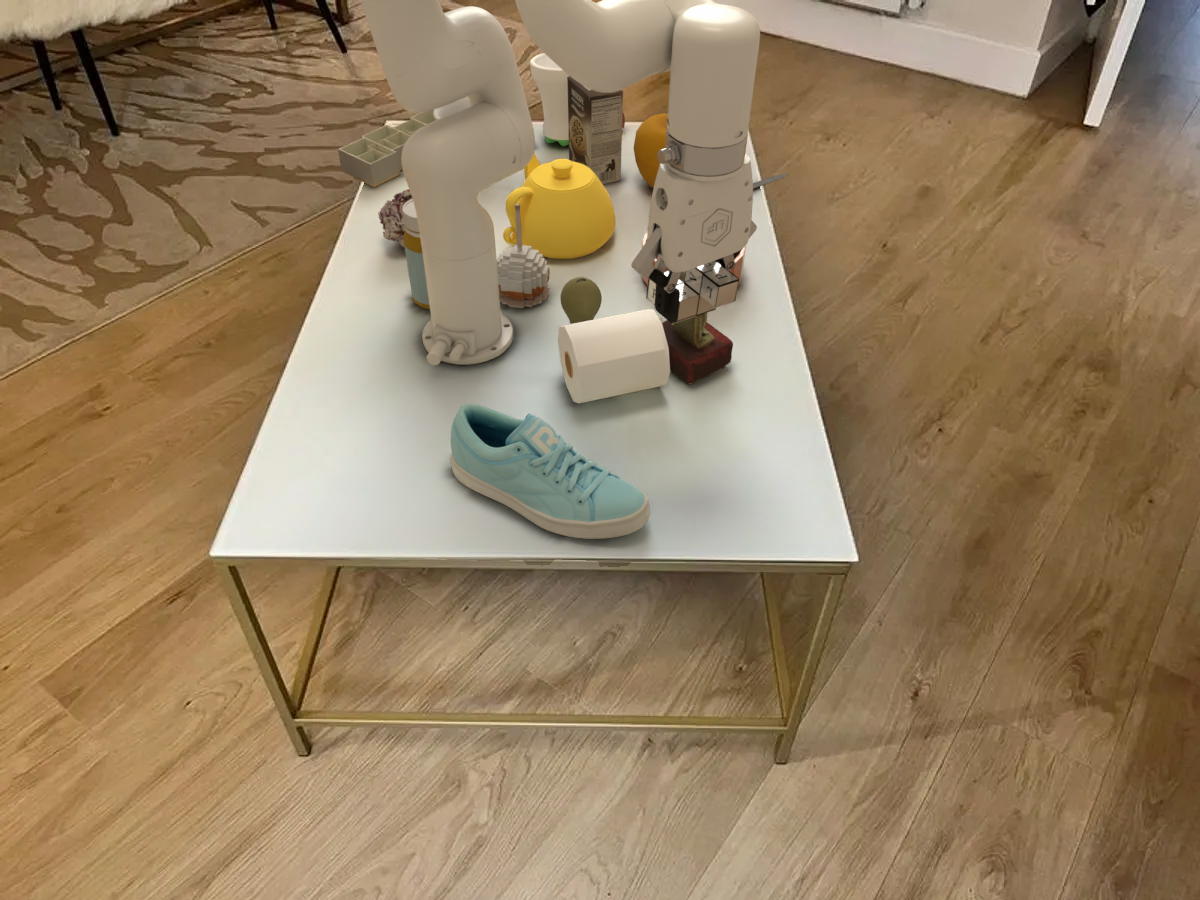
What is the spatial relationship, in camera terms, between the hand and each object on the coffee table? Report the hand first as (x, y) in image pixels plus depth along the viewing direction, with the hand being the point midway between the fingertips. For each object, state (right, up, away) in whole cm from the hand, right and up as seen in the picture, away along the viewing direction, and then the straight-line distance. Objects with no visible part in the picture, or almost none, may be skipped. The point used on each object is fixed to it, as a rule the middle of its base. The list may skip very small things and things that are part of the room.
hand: (689, 305), depth 106 cm
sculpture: (+3, -3, +31) cm, 31 cm away
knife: (+16, +31, +67) cm, 76 cm away
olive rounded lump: (-12, 0, +34) cm, 36 cm away
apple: (+2, +31, +67) cm, 74 cm away
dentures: (-11, +43, +78) cm, 90 cm away
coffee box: (-10, +33, +70) cm, 78 cm away
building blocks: (+2, -1, -4) cm, 5 cm away
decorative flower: (-37, +17, +53) cm, 67 cm away
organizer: (-42, +43, +73) cm, 95 cm away
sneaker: (-16, -21, +12) cm, 29 cm away
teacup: (-31, +35, +72) cm, 85 cm away
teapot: (-17, +19, +55) cm, 61 cm away
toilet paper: (-2, -2, +25) cm, 25 cm away
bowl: (+4, +11, +46) cm, 48 cm away
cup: (-16, +42, +79) cm, 91 cm away
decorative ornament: (-21, +7, +42) cm, 48 cm away
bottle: (-34, +7, +42) cm, 54 cm away
